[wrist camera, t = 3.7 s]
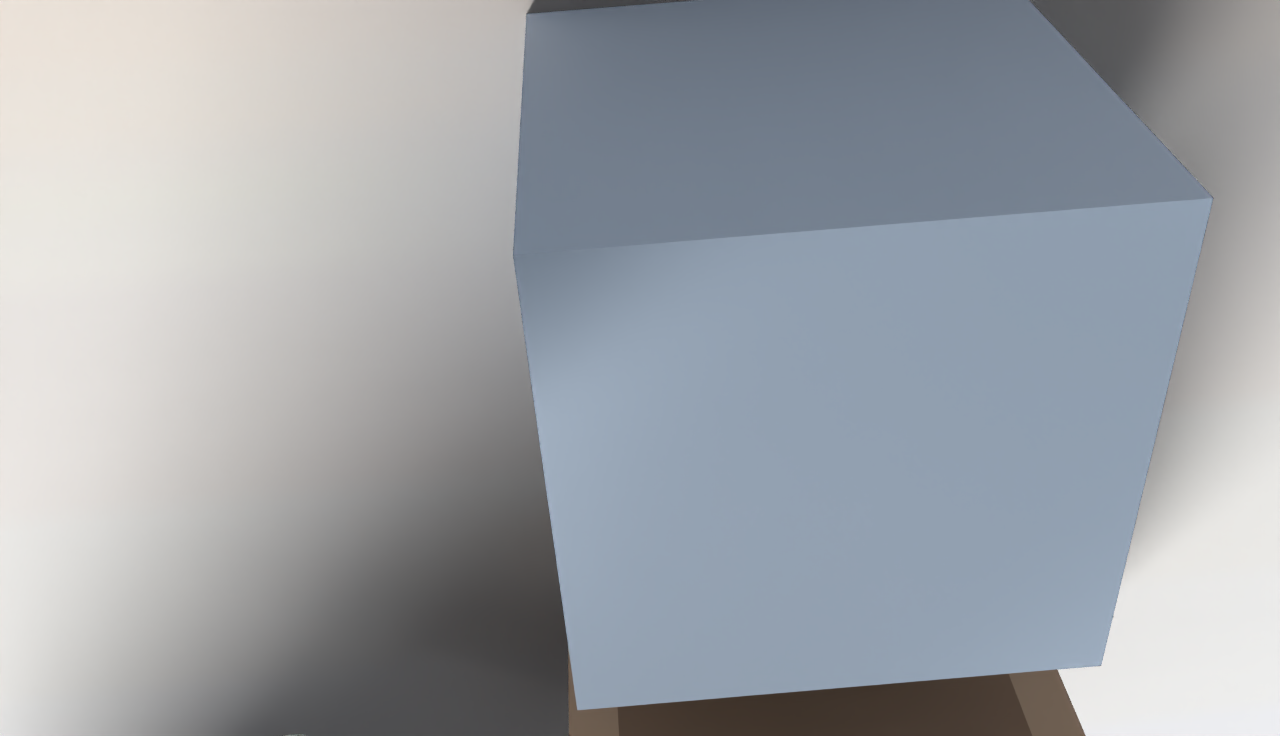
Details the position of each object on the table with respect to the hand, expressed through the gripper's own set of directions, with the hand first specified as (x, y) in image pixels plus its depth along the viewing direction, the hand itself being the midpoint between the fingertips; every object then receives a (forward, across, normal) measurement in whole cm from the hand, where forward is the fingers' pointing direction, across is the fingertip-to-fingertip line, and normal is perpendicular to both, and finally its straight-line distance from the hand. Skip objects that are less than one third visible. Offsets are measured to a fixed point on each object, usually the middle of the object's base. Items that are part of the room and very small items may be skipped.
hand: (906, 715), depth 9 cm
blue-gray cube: (+8, 0, 0) cm, 8 cm away
